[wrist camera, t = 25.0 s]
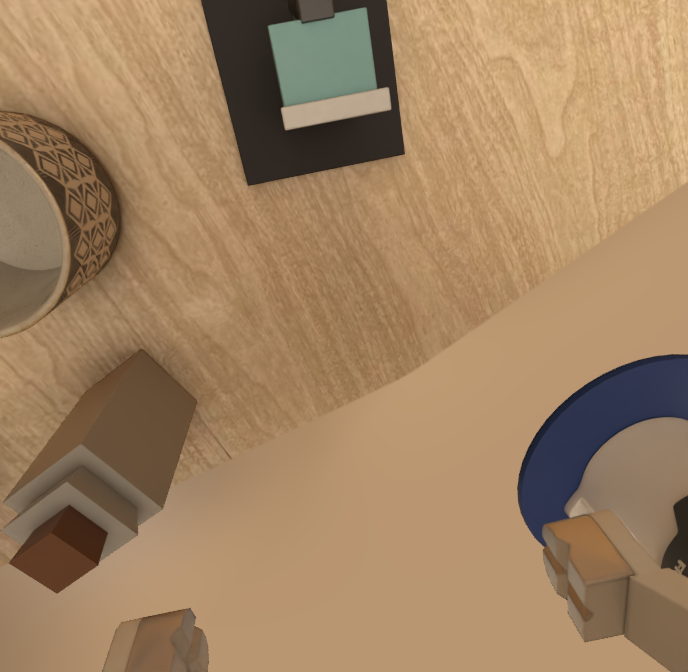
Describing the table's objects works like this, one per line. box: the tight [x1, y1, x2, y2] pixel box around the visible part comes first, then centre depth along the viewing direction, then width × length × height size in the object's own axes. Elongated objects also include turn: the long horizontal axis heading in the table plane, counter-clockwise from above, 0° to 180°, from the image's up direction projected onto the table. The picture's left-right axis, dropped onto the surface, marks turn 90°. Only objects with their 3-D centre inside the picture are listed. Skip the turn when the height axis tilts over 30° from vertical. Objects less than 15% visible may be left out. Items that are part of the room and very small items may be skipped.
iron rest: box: [201, 0, 405, 185], centre depth 34 cm, size 12×12×1 cm
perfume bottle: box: [0, 349, 197, 593], centre depth 35 cm, size 7×7×18 cm
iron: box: [268, 0, 391, 130], centre depth 27 cm, size 8×5×13 cm
